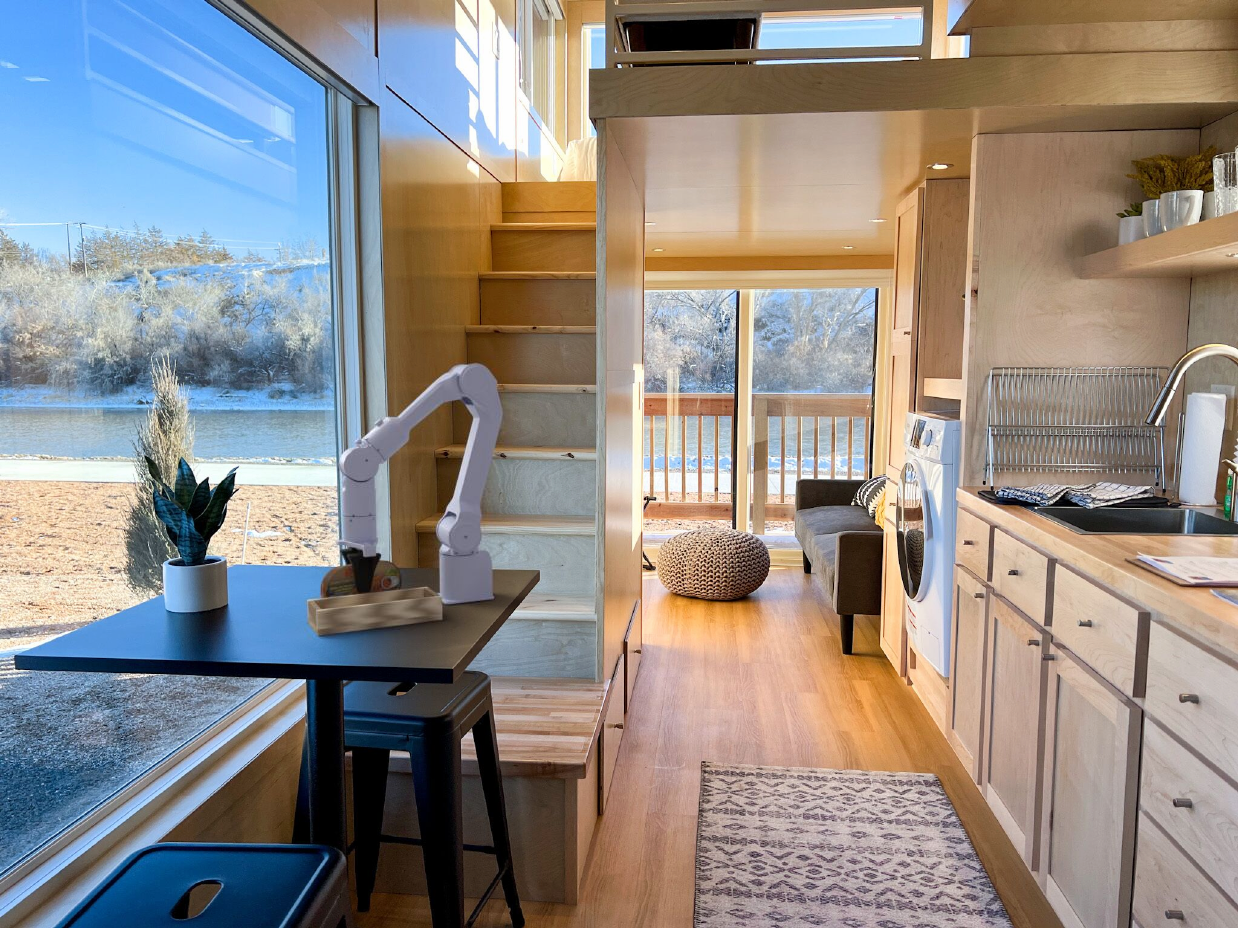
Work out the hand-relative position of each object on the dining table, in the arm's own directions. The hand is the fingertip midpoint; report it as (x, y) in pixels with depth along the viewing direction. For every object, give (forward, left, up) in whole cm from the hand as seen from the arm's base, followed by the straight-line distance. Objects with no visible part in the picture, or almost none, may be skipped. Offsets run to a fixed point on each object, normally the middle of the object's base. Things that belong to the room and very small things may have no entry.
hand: (361, 589), depth 160 cm
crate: (0, +10, -3) cm, 11 cm away
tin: (0, 0, -4) cm, 4 cm away
